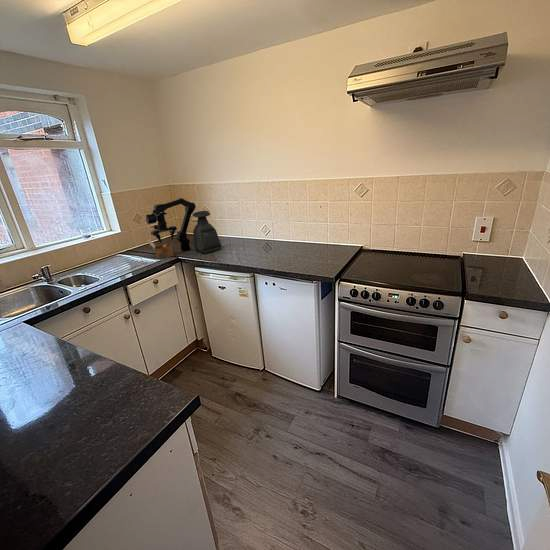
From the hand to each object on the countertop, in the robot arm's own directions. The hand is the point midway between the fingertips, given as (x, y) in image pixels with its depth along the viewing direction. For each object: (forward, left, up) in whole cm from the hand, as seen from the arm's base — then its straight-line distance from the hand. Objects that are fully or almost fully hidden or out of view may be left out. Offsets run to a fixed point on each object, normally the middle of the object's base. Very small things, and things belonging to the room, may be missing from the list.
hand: (166, 241), depth 230 cm
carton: (+3, 0, -11) cm, 11 cm away
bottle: (-29, +9, -11) cm, 32 cm away
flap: (+11, 0, 0) cm, 11 cm away
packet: (+1, 0, -6) cm, 7 cm away
